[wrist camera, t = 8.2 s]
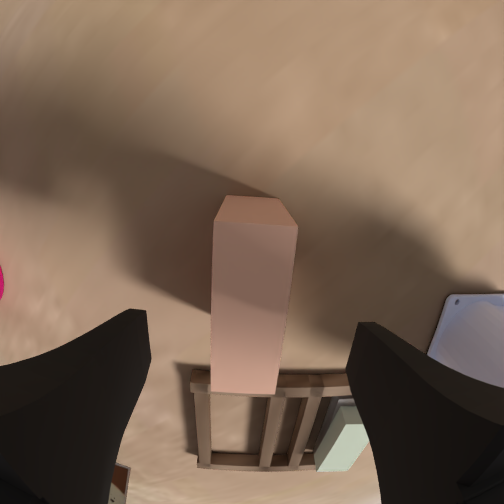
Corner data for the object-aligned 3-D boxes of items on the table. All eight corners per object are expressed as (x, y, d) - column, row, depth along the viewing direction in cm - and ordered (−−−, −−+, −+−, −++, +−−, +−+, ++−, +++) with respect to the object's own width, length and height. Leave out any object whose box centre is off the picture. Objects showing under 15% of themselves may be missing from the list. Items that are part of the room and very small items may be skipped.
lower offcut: (367, 380, 23) (374, 396, 21) (340, 443, 25) (344, 458, 24) (333, 382, 23) (338, 399, 21) (312, 446, 25) (315, 461, 23)
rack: (384, 370, 22) (391, 382, 20) (347, 455, 25) (350, 465, 24) (192, 369, 21) (190, 382, 20) (199, 456, 25) (197, 467, 23)
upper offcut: (373, 406, 21) (380, 423, 19) (343, 454, 23) (347, 470, 21) (340, 406, 21) (345, 424, 19) (313, 455, 23) (316, 471, 21)
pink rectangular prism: (278, 198, 18) (298, 226, 11) (266, 320, 20) (274, 394, 13) (226, 194, 18) (213, 221, 11) (221, 318, 20) (210, 391, 13)
